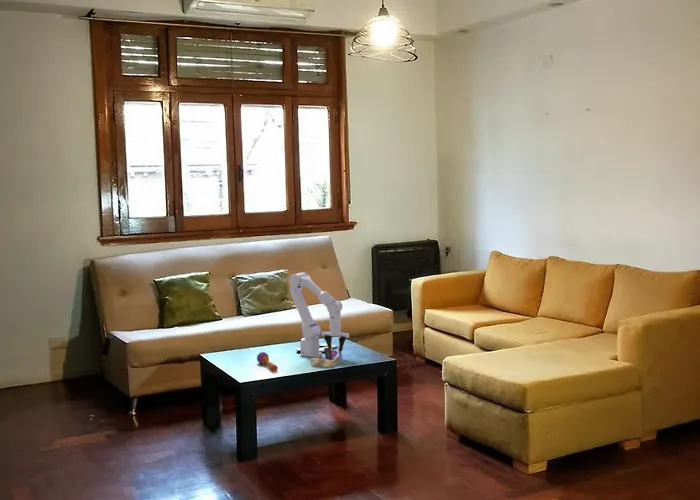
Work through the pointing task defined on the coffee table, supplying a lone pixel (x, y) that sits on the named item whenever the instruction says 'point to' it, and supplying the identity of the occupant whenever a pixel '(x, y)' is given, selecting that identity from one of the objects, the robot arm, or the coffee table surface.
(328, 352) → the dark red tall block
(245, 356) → the coffee table surface
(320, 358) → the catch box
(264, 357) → the kendama
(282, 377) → the coffee table surface
